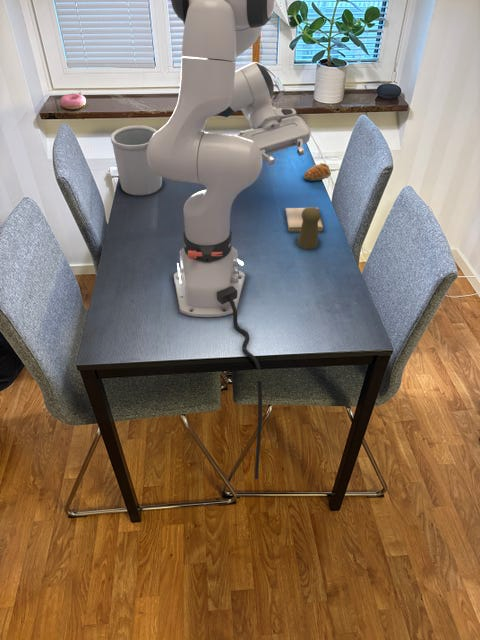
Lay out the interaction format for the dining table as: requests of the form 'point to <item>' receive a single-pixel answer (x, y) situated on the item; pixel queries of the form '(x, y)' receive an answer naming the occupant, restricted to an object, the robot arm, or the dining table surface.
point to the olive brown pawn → (309, 228)
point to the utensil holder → (135, 160)
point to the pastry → (317, 172)
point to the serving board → (297, 219)
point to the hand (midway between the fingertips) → (287, 158)
